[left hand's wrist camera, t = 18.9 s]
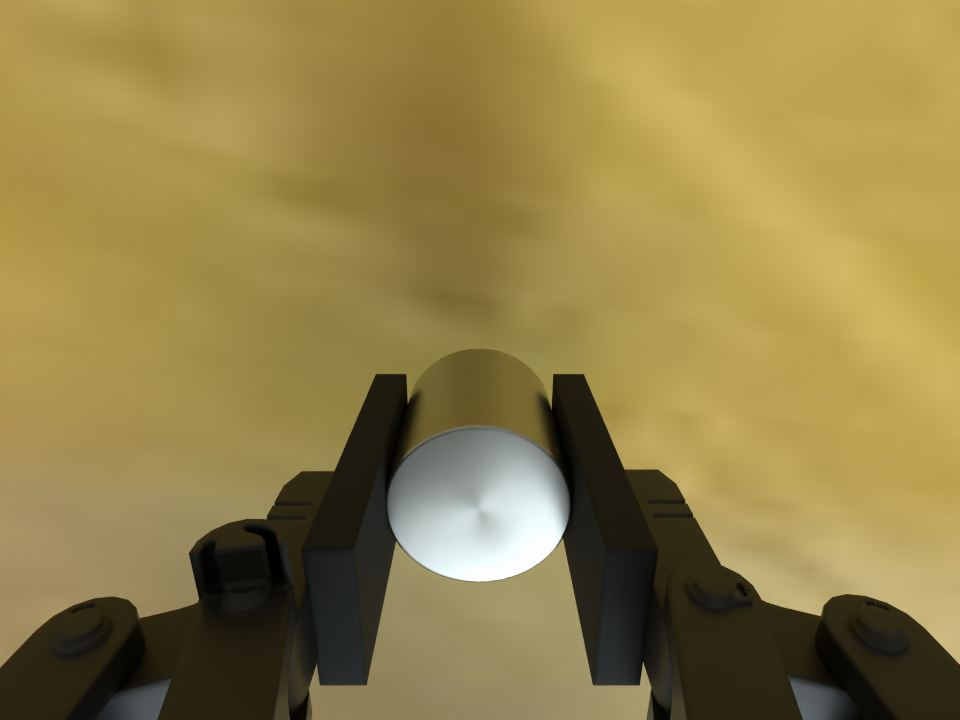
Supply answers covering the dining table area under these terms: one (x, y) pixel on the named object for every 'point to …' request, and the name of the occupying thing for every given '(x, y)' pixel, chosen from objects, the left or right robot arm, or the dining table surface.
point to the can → (478, 470)
